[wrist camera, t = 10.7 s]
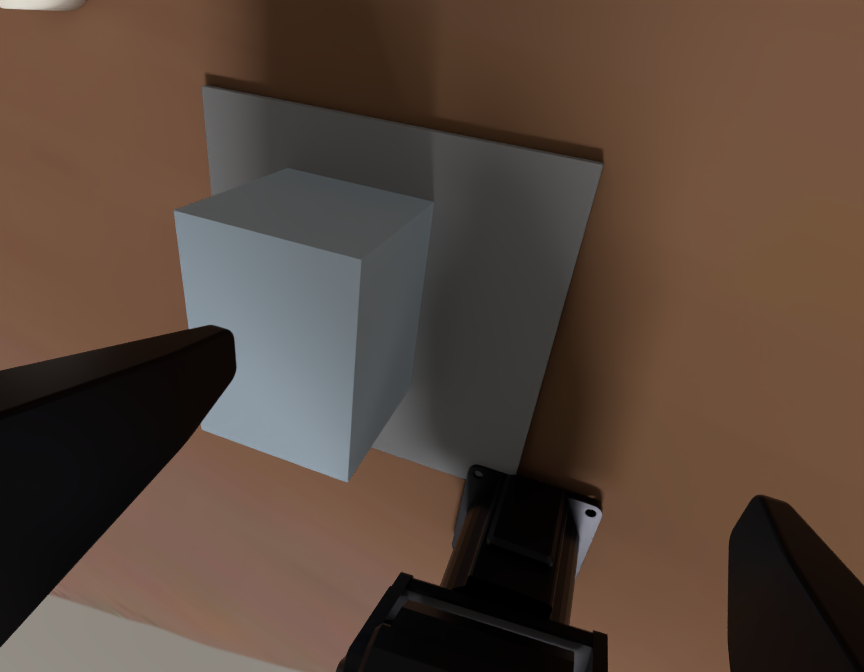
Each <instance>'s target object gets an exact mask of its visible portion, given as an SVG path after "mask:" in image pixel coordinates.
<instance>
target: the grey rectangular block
mask: <svg viewBox="0 0 864 672" xmlns="http://www.w3.org/2000/svg"><path fill="white" fill-rule="evenodd" d="M433 207H434V202H433V201H428V200H424V199H420V198H415V197H411V196H407V195H402V194H398V193H394V192H389V191H385V190H381V189H376V188H372V187H368V186H363V185H359V184H355V183H350V182H346V181H342V180H337V179H333V178H329V177H324V176H320V175H316V174H311V173H307V172H303V171H298V170H294V169H290V168H286V169H283V170H281V171H278V172H275V173H273V174H270V175H267V176H265V177H262V178H259V179H257V180H254V181H251V182H249V183H246V184H243V185H241V186H238V187H235V188H233V189H230V190H227V191H224V192H222V193H219V194H216V195H214V196H211V197H208V198H206V199H203V200H200V201H198V202H195V203H192V204H190V205H187V206H184V207H182V208H179V209H176V210H174V216H175V224H176V232H177V240H178V248H179V256H180V263H181V271H182V279H183V287H184V295H185V303H186V310H187V318H188V326H189V329H192V328H197V327H201V326H206V325H216V326H219V327H222V328H225V329H228V330H230V331H231V332H232V333H233V335H234V339H235V351H236V364H237V369H236V373H235V376H234V378H233V380H232V382H231V383H230V384H229V386H228V387H227V388H226V390H225V391H224V392H223V394H222V395H221V397H220V398H219V399H218V401H217V402H216V403H215V405H214V406H213V407H212V409H211V410H210V411H209V413H208V414H207V416H206V417H205V418H204V420H203V421H202V422H201V428H202V430H204V431H207V432H210V433H212V434H215V435H218V436H221V437H223V438H226V439H229V440H232V441H234V442H237V443H240V444H243V445H245V446H248V447H251V448H254V449H256V450H259V451H262V452H265V453H267V454H270V455H273V456H276V457H278V458H281V459H284V460H287V461H289V462H292V463H295V464H298V465H300V466H303V467H306V468H309V469H311V470H314V471H317V472H320V473H322V474H325V475H328V476H331V477H333V478H336V479H339V480H342V481H344V482H347V483H348V481H349V480H350V478H351V477H352V475H353V474H354V472H355V471H356V469H357V468H358V466H359V465H360V463H361V462H362V460H363V459H364V457H365V456H366V454H367V453H368V451H369V449H370V448H371V446H372V445H373V443H374V442H375V440H376V439H377V437H378V436H379V434H380V433H381V431H382V430H383V428H384V427H385V425H386V424H387V422H388V421H389V419H390V418H391V416H392V415H393V413H394V412H395V410H396V409H397V407H398V406H399V404H400V403H401V401H402V400H403V398H404V397H405V395H406V393H407V392H408V390H409V389H410V384H411V377H412V369H413V361H414V353H415V346H416V338H417V330H418V323H419V315H420V307H421V300H422V292H423V284H424V276H425V269H426V261H427V253H428V246H429V238H430V230H431V222H432V215H433Z"/></svg>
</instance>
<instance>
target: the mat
mask: <svg viewBox="0 0 864 672" xmlns="http://www.w3.org/2000/svg"><path fill="white" fill-rule="evenodd" d="M202 95H203V106H204V117H205V128H206V139H207V150H208V161H209V172H210V182H211V193H212V196H214V195H216V194H219V193H222V192H224V191H227V190H230V189H233V188H235V187H238V186H241V185H243V184H246V183H249V182H251V181H254V180H257V179H259V178H262V177H265V176H267V175H270V174H273V173H275V172H278V171H281V170H283V169H286V168H290V169H294V170H298V171H303V172H307V173H311V174H316V175H320V176H324V177H329V178H333V179H337V180H342V181H346V182H350V183H355V184H359V185H363V186H368V187H372V188H376V189H381V190H385V191H389V192H394V193H398V194H402V195H407V196H411V197H415V198H420V199H424V200H428V201H433V202H434V207H433V215H432V222H431V230H430V238H429V246H428V253H427V261H426V269H425V276H424V284H423V292H422V300H421V307H420V315H419V323H418V330H417V338H416V346H415V353H414V361H413V369H412V377H411V384H410V389H409V390H408V392H407V393H406V395H405V397H404V398H403V400H402V401H401V403H400V404H399V406H398V407H397V409H396V410H395V412H394V413H393V415H392V416H391V418H390V419H389V421H388V422H387V424H386V425H385V427H384V428H383V430H382V431H381V433H380V434H379V436H378V437H377V439H376V440H375V442H374V443H373V445H372V446H371V447H372V448H375V449H377V450H380V451H383V452H386V453H389V454H392V455H395V456H398V457H401V458H404V459H407V460H410V461H413V462H416V463H418V464H421V465H424V466H427V467H430V468H433V469H436V470H439V471H442V472H445V473H448V474H451V475H454V476H457V477H460V478H462V479H465V480H466V478H467V473H468V470H469V468H470V466H472V465H475V464H478V465H482V466H485V467H488V468H491V469H494V470H497V471H500V472H503V473H506V474H509V475H510V474H513V475H516V473H517V469H518V466H519V462H520V459H521V455H522V451H523V448H524V444H525V441H526V437H527V434H528V430H529V427H530V423H531V420H532V416H533V412H534V409H535V405H536V402H537V398H538V395H539V391H540V388H541V384H542V381H543V377H544V373H545V370H546V366H547V363H548V359H549V356H550V352H551V349H552V345H553V341H554V338H555V334H556V331H557V327H558V324H559V320H560V317H561V313H562V310H563V306H564V302H565V299H566V295H567V292H568V288H569V285H570V281H571V278H572V274H573V271H574V267H575V263H576V260H577V256H578V253H579V249H580V246H581V242H582V239H583V235H584V231H585V228H586V224H587V221H588V217H589V214H590V210H591V207H592V203H593V200H594V196H595V192H596V189H597V185H598V182H599V178H600V175H601V171H602V168H603V164H604V163H603V162H598V161H593V160H588V159H583V158H577V157H572V156H567V155H562V154H557V153H552V152H547V151H542V150H537V149H531V148H526V147H521V146H516V145H511V144H506V143H501V142H496V141H491V140H486V139H480V138H475V137H470V136H465V135H460V134H455V133H450V132H445V131H440V130H434V129H429V128H424V127H419V126H414V125H409V124H404V123H399V122H394V121H388V120H383V119H378V118H373V117H368V116H363V115H358V114H353V113H348V112H343V111H337V110H332V109H327V108H322V107H317V106H312V105H307V104H302V103H297V102H291V101H286V100H281V99H276V98H271V97H266V96H261V95H256V94H251V93H246V92H240V91H235V90H230V89H225V88H220V87H215V86H210V85H206V86H202ZM474 474H475V475H477V476H483V475H482V473H481V472H479V471H474Z"/></svg>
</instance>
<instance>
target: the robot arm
mask: <svg viewBox="0 0 864 672" xmlns="http://www.w3.org/2000/svg"><path fill="white" fill-rule="evenodd" d="M236 369H237V364H236V351H235V339H234V335H233V333H232V332H231V331H230V330H228V329H225V328H222V327H219V326H216V325H206V326H201V327H197V328H192V329H187V330H183V331H178V332H174V333H169V334H165V335H160V336H156V337H151V338H147V339H142V340H137V341H133V342H128V343H124V344H119V345H115V346H110V347H106V348H101V349H97V350H92V351H87V352H83V353H78V354H74V355H69V356H65V357H60V358H56V359H51V360H47V361H42V362H37V363H33V364H28V365H24V366H19V367H15V368H10V369H6V370H1V371H0V647H1V646H2V645H3V644H4V643H5V642H6V641H7V640H8V638H9V637H10V636H11V635H12V634H13V633H14V632H15V631H16V630H17V629H18V627H19V626H20V625H21V624H22V623H23V622H24V621H25V620H26V619H27V617H28V616H29V615H30V614H31V613H32V612H33V611H34V610H35V609H36V608H37V607H38V605H39V604H40V603H41V602H42V601H43V600H44V599H45V598H46V597H47V595H48V594H49V593H50V592H51V591H52V590H53V589H54V588H55V587H56V586H57V584H58V583H59V582H60V581H61V580H62V579H63V578H64V577H65V576H66V575H67V573H68V572H69V571H70V570H71V569H72V568H73V567H74V566H75V565H76V564H77V562H78V561H79V560H80V559H81V558H82V557H83V556H84V555H85V554H86V553H87V551H88V550H89V549H90V548H91V547H92V546H93V545H94V544H95V543H96V542H97V540H98V539H99V538H100V537H101V536H102V535H103V534H104V533H105V532H106V531H107V529H108V528H109V527H110V526H111V525H112V524H113V523H114V522H115V521H116V520H117V518H118V517H119V516H120V515H121V514H122V513H123V512H124V511H125V510H126V509H127V507H128V506H129V505H130V504H131V503H132V502H133V501H134V500H135V499H136V498H137V496H138V495H139V494H140V493H141V492H142V491H143V490H144V489H145V488H146V486H147V485H148V484H149V483H150V482H151V481H152V480H153V479H154V478H155V477H156V475H157V474H158V473H159V472H160V471H161V470H162V469H163V468H164V467H165V466H166V464H167V463H168V462H169V461H170V460H171V459H172V458H173V457H174V456H175V455H176V453H177V452H178V451H179V450H180V449H181V448H182V447H183V445H184V444H185V443H186V442H187V441H188V439H189V438H190V437H191V436H192V434H193V433H194V432H195V430H196V429H197V428H198V426H199V425H200V424H201V422H202V421H203V420H204V418H205V417H206V416H207V414H208V413H209V411H210V410H211V409H212V407H213V406H214V405H215V403H216V402H217V401H218V399H219V398H220V397H221V395H222V394H223V392H224V391H225V390H226V388H227V387H228V386H229V384H230V383H231V382H232V380H233V378H234V376H235V373H236ZM474 471H479V472H481V473H482V475H483V476H477V475H475V474H474ZM588 509H592V510H594V511H589V510H588ZM601 517H602V505H601V504H600V503H599V502H598V501H596V500H594V499H590V498H587V497H584V496H581V495H578V494H575V493H572V492H569V491H566V490H563V489H560V488H557V487H554V486H551V485H548V484H545V483H542V482H539V481H536V480H533V479H530V478H527V477H524V476H521V475H518V474H516V475H513V474H510V475H509V474H506V473H503V472H500V471H497V470H494V469H491V468H488V467H485V466H482V465H478V464H475V465H472V466H470V468H469V470H468V473H467V478H466V482H465V487H464V492H463V496H462V501H461V505H460V510H459V515H458V519H457V524H456V529H455V533H454V538H453V542H452V548H453V552H452V554H451V557H450V560H449V563H448V565H447V568H446V571H445V573H444V576H443V579H442V582H441V584H440V586H438V585H435V584H431V583H428V582H425V581H422V580H418V579H415V578H413V575H409V574H406V573H403V572H401V573H400V574H399V576H398V577H397V579H396V580H395V582H394V583H393V585H392V586H390V587H389V588H388V590H387V591H386V593H385V594H384V596H383V597H382V599H381V600H380V602H379V603H378V605H377V606H376V608H375V609H374V611H373V612H372V614H371V615H370V617H369V618H368V620H367V622H366V623H365V625H364V626H363V628H362V629H361V631H360V632H359V634H358V635H357V637H356V638H355V640H354V641H353V643H352V644H351V646H350V648H349V650H348V652H347V655H346V656H345V657H344V658H343V659H342V660H341V661H340V663H339V664H338V667H337V670H336V672H608V636H607V634H604V633H601V632H598V631H594V630H593V632H589V631H586V630H583V629H579V628H576V627H573V626H570V625H569V624H570V616H571V608H572V600H573V592H574V584H575V579H576V577H577V574H578V572H579V570H580V567H581V565H582V562H583V560H584V558H585V555H586V553H587V551H588V548H589V546H590V543H591V541H592V539H593V536H594V534H595V532H596V529H597V527H598V524H599V522H600V520H601ZM728 650H729V662H730V671H731V672H864V585H863V584H862V583H861V582H860V581H859V580H858V578H857V577H856V576H855V575H854V574H853V573H852V572H851V571H850V570H849V569H848V568H847V566H846V565H845V564H844V563H843V562H842V561H841V560H840V559H839V558H838V557H837V556H836V554H835V553H834V552H833V551H832V550H831V549H830V548H829V547H828V546H827V545H826V543H825V542H824V541H823V540H822V539H821V538H820V537H819V536H818V535H817V534H816V533H815V531H814V530H813V529H812V528H811V527H810V526H809V525H808V524H807V523H806V522H805V521H804V519H803V518H802V517H801V516H800V515H799V514H798V513H797V512H796V511H795V510H794V509H793V507H792V506H790V505H789V504H788V503H786V502H784V501H781V500H778V499H774V498H771V497H768V496H765V495H756V496H755V497H753V498H752V499H751V501H750V502H749V504H748V506H747V507H746V509H745V510H744V512H743V514H742V515H741V517H740V518H739V520H738V522H737V523H736V525H735V527H734V528H733V530H732V533H731V535H730V540H729V563H728Z"/></svg>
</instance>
